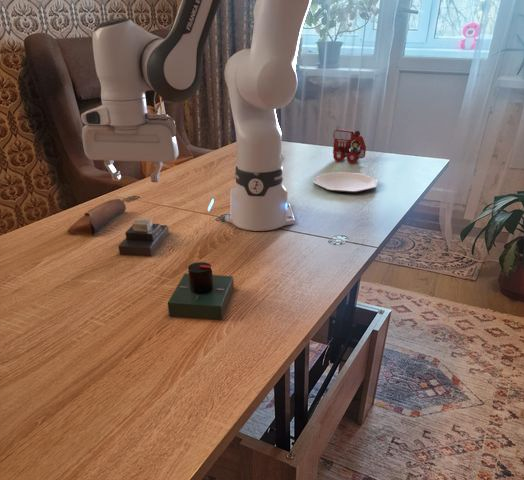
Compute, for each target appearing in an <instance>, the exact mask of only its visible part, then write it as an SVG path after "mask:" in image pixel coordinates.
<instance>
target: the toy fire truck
mask: <svg viewBox="0 0 524 480" xmlns="http://www.w3.org/2000/svg"><path fill="white" fill-rule="evenodd" d="M332 136H333V148H332V155H333V156H332V157H333V160H334V161H335V162H338V163H340V162H343V161H344V159H346V160H347V162H348V163H349V164H355V163H357V161H358V160H359V159H365V157H366V152H367V146H366V143H365V140H364V137H363V136H362V135H361V132H360V131H359V130H355V131H353V130H346V129H345V130H344V129H335V130H333V134H332Z"/></svg>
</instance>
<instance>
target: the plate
mask: <svg viewBox="0 0 524 480" xmlns="http://www.w3.org/2000/svg"><path fill="white" fill-rule="evenodd" d="M378 182H379V179H377V178H375V177H372V176H370V175H368V174H364V173H361V172H349V171H333V172H328V173H322V174H321V173H320V174H318V175H316V177H315V179H314V180H313V185H315V186H318V187H320V188H322V189H324V190H326V191H329V192H340V193H341V192H342V193H352V194H353V193H360V192H365V191H370V190H375V189H376V188H377V186H378Z"/></svg>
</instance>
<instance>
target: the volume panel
mask: <svg viewBox="0 0 524 480" xmlns="http://www.w3.org/2000/svg"><path fill="white" fill-rule="evenodd" d="M212 276H213V290H212V291H211V292H209V293H205V294H196V293H193V292H192V291H191V290H190V282H189V273H184V274H183V276H182V277H181V279H180V281H179V282H178V284H177V286H176V287H175V289H174V291H173V292H172V295H171V296H170V298H169V300H168V301H167V309H168V316H169V317H170V318H184V319H198V320H199V319H200V320H214V321H215V320H216V321H223V318H224V316H225V313H226V311H227V308H228V305H229V303H230V300H231V297H232V295H233V292H234V290H235V288H234V287H235V286H234V285H235V284H234V276H233V275H232V276H231V275H221V274H220V275H219V274H218V275H217V274H212Z"/></svg>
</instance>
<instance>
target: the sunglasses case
mask: <svg viewBox="0 0 524 480" xmlns="http://www.w3.org/2000/svg"><path fill="white" fill-rule="evenodd" d="M126 210H127V206H126V204H125V202H124V201H123V200H122V199H120V198H115V199H111V200H106V201H104V202H102V203H100V204H98V205H96V206H95V207H93V208H91V209H89V210H88V211H86V212H85V213H84V215H83V216H82V217H80V218H79V219H78V220H76V221H74V223H73V224H72V225H70V226H69V228H68V229H67V233H69V234H72V235H77V236H85V237H93V236H95V234H97V233H98V232H99V231H100V230H102V228H103V227H104V226H105V225H107V223H109V222H110V221H112V220H113V219H114V218H115V217H117V216H119V214H121V213H123V212H125V211H126Z"/></svg>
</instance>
